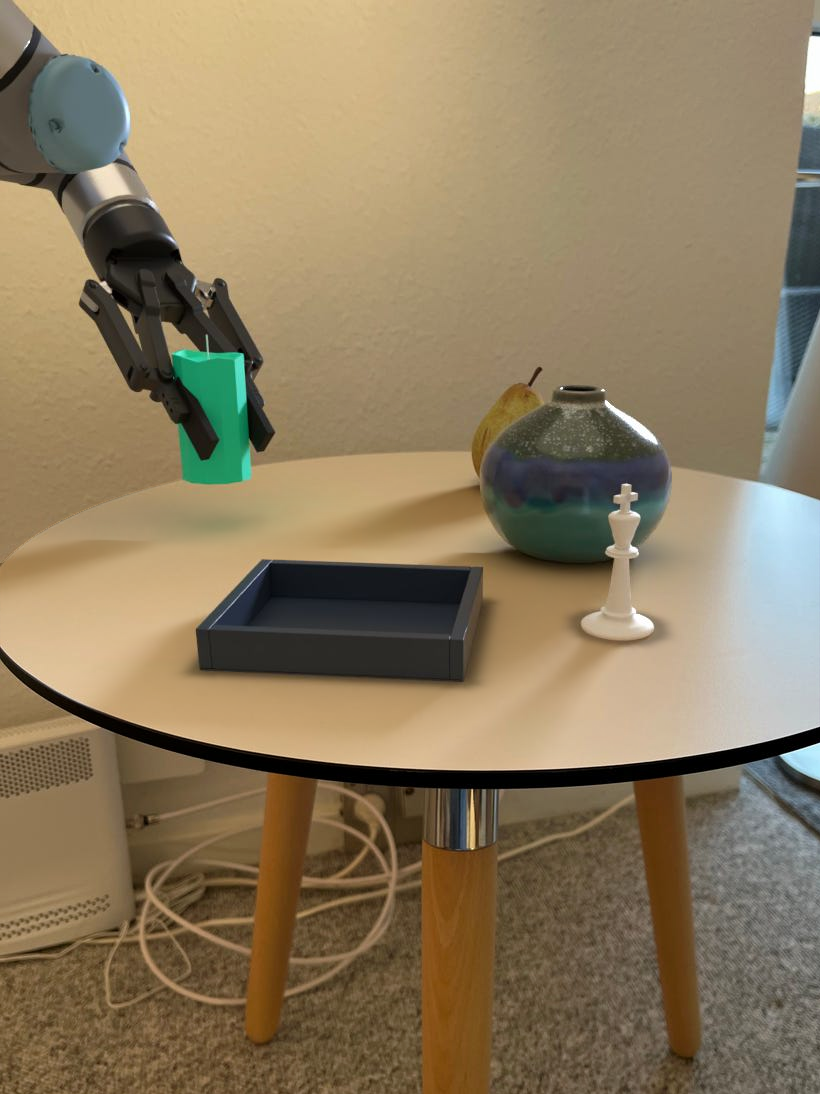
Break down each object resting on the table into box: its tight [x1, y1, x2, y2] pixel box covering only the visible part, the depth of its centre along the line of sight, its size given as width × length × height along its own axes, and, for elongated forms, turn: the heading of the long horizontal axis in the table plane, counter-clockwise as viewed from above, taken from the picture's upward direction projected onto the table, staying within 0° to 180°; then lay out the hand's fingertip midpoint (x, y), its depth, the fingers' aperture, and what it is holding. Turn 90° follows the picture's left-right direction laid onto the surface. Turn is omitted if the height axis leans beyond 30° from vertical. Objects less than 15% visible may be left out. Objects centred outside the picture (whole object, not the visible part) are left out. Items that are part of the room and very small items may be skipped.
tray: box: [195, 558, 484, 683], centre depth 65 cm, size 16×14×3 cm
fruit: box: [471, 366, 546, 480], centre depth 103 cm, size 9×9×12 cm
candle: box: [171, 335, 253, 486], centre depth 87 cm, size 6×6×12 cm
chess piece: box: [580, 484, 655, 642], centre depth 65 cm, size 5×5×10 cm
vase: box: [478, 384, 673, 564], centre depth 81 cm, size 15×15×13 cm
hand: (238, 445), depth 85 cm, fingers closed on candle, 5 cm apart
